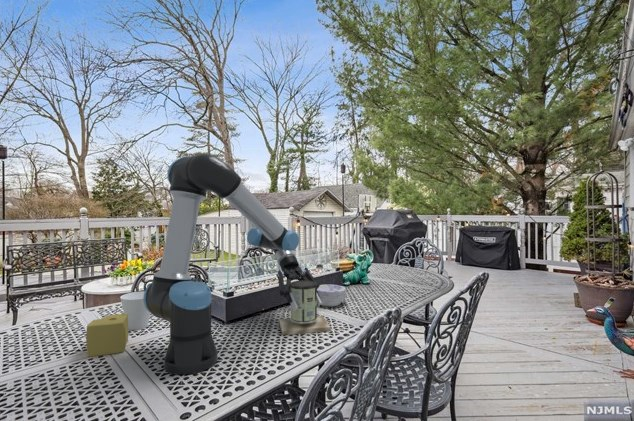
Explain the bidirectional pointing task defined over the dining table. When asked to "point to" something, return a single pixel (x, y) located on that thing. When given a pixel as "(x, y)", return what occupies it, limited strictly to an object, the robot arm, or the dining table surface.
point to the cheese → (107, 335)
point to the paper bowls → (331, 295)
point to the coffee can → (304, 301)
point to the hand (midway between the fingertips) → (308, 307)
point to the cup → (135, 310)
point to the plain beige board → (304, 326)
